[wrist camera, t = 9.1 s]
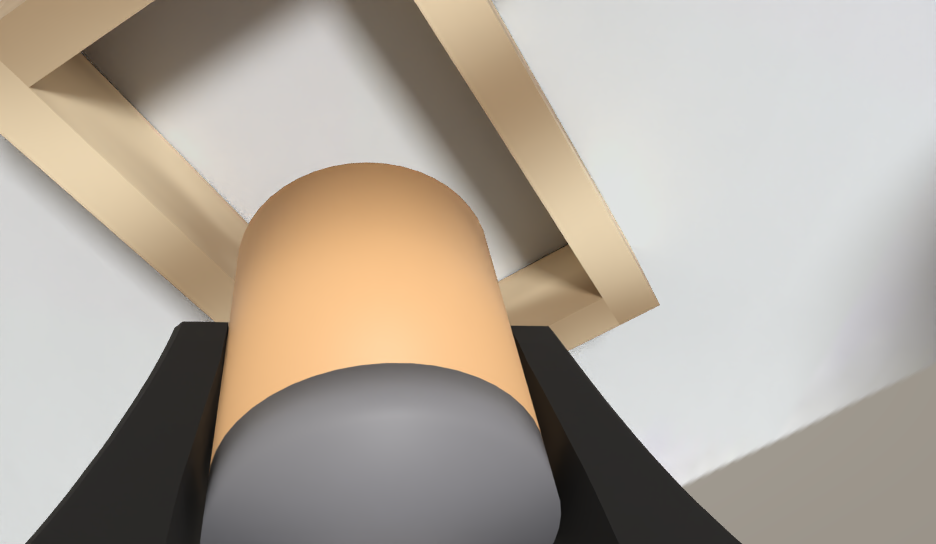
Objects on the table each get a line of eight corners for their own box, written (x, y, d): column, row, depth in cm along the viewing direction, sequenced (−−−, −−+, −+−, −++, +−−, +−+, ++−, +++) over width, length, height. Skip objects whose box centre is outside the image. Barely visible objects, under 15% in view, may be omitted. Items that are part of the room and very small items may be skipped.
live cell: (460, 367, 14) (513, 630, 11) (231, 354, 14) (196, 640, 10) (515, 178, 12) (607, 427, 8) (244, 147, 11) (203, 412, 7)
